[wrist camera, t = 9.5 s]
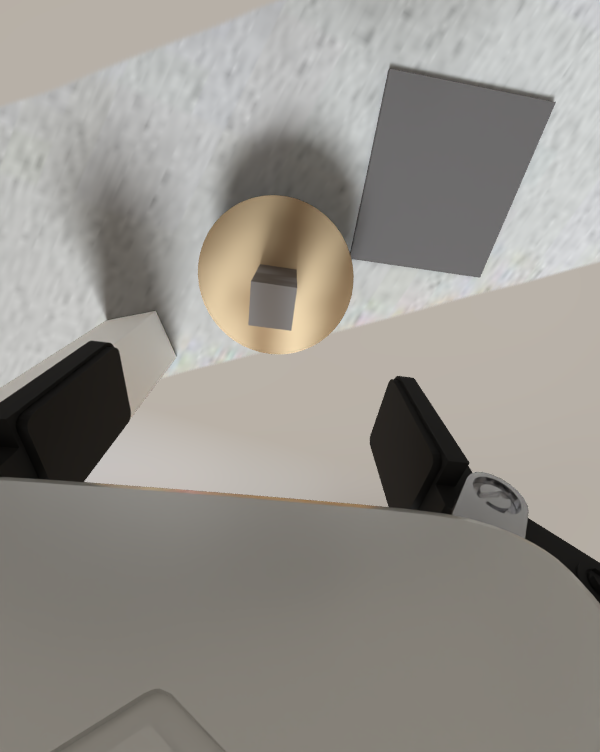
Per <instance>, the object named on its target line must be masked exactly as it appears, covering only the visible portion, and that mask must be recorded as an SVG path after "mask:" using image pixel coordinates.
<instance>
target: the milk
mask: <svg viewBox="0 0 600 752" xmlns="http://www.w3.org/2000/svg"><path fill="white" fill-rule="evenodd" d="M89 341H100V342H109V343H111V344H113V346H114V347H115V348H117V349H118V350H119V353H120V358H121V363H122V368H123V373H124V378H125V383H126V389H127V394H128V399H129V404H130V409H131V417H132V416H133V415H134V413H135V412H136V411H137V409H138V408H139V407H140V405H141V404H142V403H143V401H144V400H145V399H146V397H147V396H148V395H149V393H150V392H151V391H152V389H153V388H154V387H155V385H156V384H157V383H158V381H159V380H160V379H161V377H162V376H163V375H164V373H165V372H166V371H167V369H168V368H169V367H170V365H171V364H172V363H173V361H174V360H175V359H176V355H175V353H174V350H173V348H172V346H171V344H170V341H169V339H168V337H167V335H166V333H165V330H164V328H163V326H162V324H161V321H160V319H159V317H158V315H157V312H156V311H152V312H147V313H142V314H137V315H131V316H126V317H121V318H116V319H111V320H106V321H105V322H103V323H101V324H100V325H98V326H97V327H95V328H94V329H92V330H90V331H89V332H87V333H86V334H84V335H83V336H81V337H79V338H78V339H76V340H75V341H73V342H72V343H70V344H68V345H67V346H65V347H64V348H62V349H61V350H59V351H58V352H56V353H54V354H53V355H51V356H50V357H48V358H47V359H45V360H43V361H42V362H40V363H39V364H37V365H36V366H34V367H32V368H31V369H29V370H28V371H26V372H25V373H23V374H21V375H20V376H18V377H17V378H15V379H14V380H12V381H11V382H9V383H7V384H6V385H4V386H3V387H1V388H0V402H1V401H3V400H4V399H6V398H7V397H9V396H10V395H12V394H13V393H14V392H16V391H17V390H19V389H20V388H22V387H23V386H25V385H26V384H28V383H29V382H30V381H32V380H33V379H35V378H36V377H38V376H39V375H41V374H42V373H44V372H45V371H46V370H48V369H49V368H51V367H52V366H54V365H55V364H57V363H58V362H60V361H61V360H62V359H64V358H65V357H67V356H68V355H70V354H71V353H73V352H74V351H76V350H77V349H78V348H80V347H81V346H83V345H84V344H86V343H87V342H89ZM131 417H130V419H131Z"/></svg>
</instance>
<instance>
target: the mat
mask: <svg viewBox="0 0 600 752" xmlns="http://www.w3.org/2000/svg"><path fill="white" fill-rule="evenodd" d="M555 103H556V102H552V101H547V100H542V99H537V98H532V97H527V96H523V95H518V94H513V93H508V92H503V91H498V90H493V89H488V88H483V87H478V86H473V85H468V84H464V83H459V82H454V81H449V80H444V79H439V78H434V77H429V76H424V75H419V74H414V73H410V72H405V71H400V70H395V69H389V71H388V75H387V80H386V85H385V89H384V94H383V99H382V104H381V109H380V113H379V118H378V123H377V128H376V133H375V137H374V142H373V147H372V152H371V157H370V161H369V166H368V171H367V176H366V180H365V185H364V190H363V195H362V200H361V204H360V209H359V214H358V219H357V224H356V228H355V233H354V238H353V243H352V248H351V252H350V256H351V259H356V260H363V261H370V262H377V263H384V264H390V265H397V266H404V267H411V268H418V269H425V270H432V271H439V272H445V273H452V274H459V275H466V276H473V277H480V276H481V274H482V271H483V269H484V267H485V265H486V262H487V260H488V258H489V255H490V253H491V251H492V248H493V246H494V244H495V241H496V239H497V237H498V234H499V232H500V230H501V228H502V225H503V223H504V221H505V218H506V216H507V214H508V211H509V209H510V207H511V204H512V202H513V200H514V197H515V195H516V193H517V191H518V188H519V186H520V184H521V181H522V179H523V177H524V174H525V172H526V170H527V167H528V165H529V163H530V160H531V158H532V156H533V154H534V151H535V149H536V147H537V144H538V142H539V140H540V137H541V135H542V133H543V130H544V128H545V126H546V124H547V121H548V119H549V117H550V114H551V112H552V110H553V107H554V105H555Z"/></svg>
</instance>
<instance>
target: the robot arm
mask: <svg viewBox="0 0 600 752" xmlns="http://www.w3.org/2000/svg"><path fill="white" fill-rule="evenodd" d="M130 417H131V409H130V404H129V399H128V394H127V389H126V383H125V378H124V373H123V368H122V363H121V358H120V353H119V350H118V349H117V348H115V347H114V346H113V344H111V343H109V342H100V341H89V342H87V343H86V344H84V345H83V346H81V347H80V348H78V349H77V350H76V351H74V352H73V353H71V354H70V355H68V356H67V357H65V358H64V359H62V360H61V361H60V362H58V363H57V364H55V365H54V366H52V367H51V368H49V369H48V370H46V371H45V372H44V373H42V374H41V375H39V376H38V377H36V378H35V379H33V380H32V381H30V382H29V383H28V384H26V385H25V386H23V387H22V388H20V389H19V390H17V391H16V392H14V393H13V394H12V395H10V396H9V397H7V398H6V399H4V400H3V401H1V402H0V752H600V563H599V562H598V561H596V560H594V559H593V558H591V557H590V556H588V555H586V554H585V553H583V552H581V551H580V550H578V549H577V548H575V547H574V546H572V545H570V544H569V543H567V542H566V541H564V540H562V539H561V538H559V537H557V536H556V535H554V534H553V533H551V532H550V531H548V530H546V529H545V528H543V527H542V526H540V525H538V524H537V523H535V522H534V521H532V520H530V519H529V518H528V506H527V504H526V502H525V500H524V498H523V497H522V496H521V494H520V493H519V492H518V491H517V490H516V489H515V488H514V487H512V486H511V485H510V484H509V483H507V482H505V481H504V480H502V479H501V478H498V477H496V476H494V475H491V474H488V473H483V472H475V473H472V471H471V470H470V468H469V466H468V465H469V461H468V460H467V458H466V457H465V455H464V454H463V453H462V451H461V449H460V448H459V446H458V445H457V443H456V441H455V440H454V438H453V437H452V435H451V434H450V432H449V431H448V429H447V428H446V426H445V425H444V423H443V422H442V420H441V419H440V417H439V416H438V414H437V413H436V411H435V409H434V408H433V406H432V405H431V403H430V402H429V400H428V399H427V397H426V396H425V394H424V393H423V391H422V390H421V388H420V386H419V385H418V383H417V382H416V380H415V379H414V378H410V377H402V376H397V377H396V378H395V379H394V380H393V379H391V380H390V381H389V383H388V386H387V389H386V392H385V395H384V398H383V401H382V404H381V407H380V409H379V413H378V415H377V418H376V421H375V424H374V427H373V430H372V433H371V436H370V446H371V449H372V453H373V456H374V460H375V463H376V466H377V469H378V473H379V476H380V479H381V483H382V486H383V490H384V493H385V496H386V500H387V503H388V506H389V507H382V506H372V505H371V506H370V505H361V504H350V503H338V502H327V501H314V500H303V499H291V498H279V497H268V496H254V495H243V494H230V493H218V492H206V491H193V490H180V489H167V488H154V487H141V486H128V485H114V484H100V483H87V482H84V480H85V479H86V478H87V477H88V475H89V474H90V473H91V471H92V470H93V469H94V467H95V466H96V465H97V463H98V462H99V461H100V459H101V458H102V457H103V455H104V454H105V453H106V451H107V450H108V449H109V447H110V446H111V445H112V443H113V442H114V441H115V440H116V438H117V437H118V435H119V434H120V433H121V432H122V430H123V429H124V428H125V426H126V425H127V424H128V422H129V420H130Z"/></svg>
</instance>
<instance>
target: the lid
mask: <svg viewBox="0 0 600 752" xmlns="http://www.w3.org/2000/svg"><path fill="white" fill-rule="evenodd" d="M198 279H199V287H200V291H201V295H202V298H203V301H204V304H205V306H206V308H207V310H208V312H209V314H210V315H211V317H212V318H213V320H214V321H215V323H216V324H217V325H218V326H219V327H220V329H221V330H223V331H224V332H225V333H226V334H227V335H228V336H229V337H231V338H232V339H233V340H235V341H236V342H238V343H239V344H241V345H243V346H245V347H247V348H250V349H252V350H255V351H259V352H263V353H268V354H289V353H295V352H298V351H302V350H305V349H307V348H309V347H312V346H313V345H315V344H317V343H319V342H320V341H322V340H323V339H324V338H325V337H327V336H328V335H329V334H330V333H331V332H332V331H333V330H334V329H335V328H336V326H337V325H338V324H339V323H340V321H341V319H342V318H343V316H344V314H345V312H346V310H347V308H348V305H349V302H350V299H351V295H352V289H353V265H352V260H351V256H350V253H349V250H348V247H347V244H346V242H345V241H344V239H343V237H342V235H341V233H340V232H339V230H338V229H337V228H336V226H335V225H334V224H333V223H332V222H331V221H330V219H329V218H328V217H327V216H325V215H324V214H323V213H322V212H320V211H319V210H318V209H316V208H315V207H313V206H311V205H310V204H308V203H306V202H303V201H301V200H298V199H295V198H291V197H287V196H278V195H267V196H259V197H255V198H251V199H248V200H246V201H243V202H240V203H239V204H237V205H235V206H234V207H232V208H230V209H229V210H228V211H227V212H225V213H224V214H223V215H222V216H221V217H220V218H219V219H218V220H217V221H216V222H215V223H214V225H213V226H212V228H211V229H210V231H209V232H208V234H207V236H206V238H205V240H204V243H203V246H202V249H201V252H200V257H199V263H198Z"/></svg>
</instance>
